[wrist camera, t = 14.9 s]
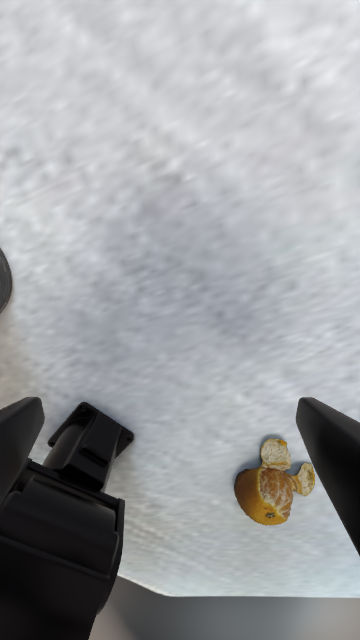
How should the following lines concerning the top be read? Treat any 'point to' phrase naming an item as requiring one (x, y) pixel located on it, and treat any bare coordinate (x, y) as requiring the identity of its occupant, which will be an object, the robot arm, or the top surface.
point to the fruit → (272, 485)
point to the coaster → (4, 281)
